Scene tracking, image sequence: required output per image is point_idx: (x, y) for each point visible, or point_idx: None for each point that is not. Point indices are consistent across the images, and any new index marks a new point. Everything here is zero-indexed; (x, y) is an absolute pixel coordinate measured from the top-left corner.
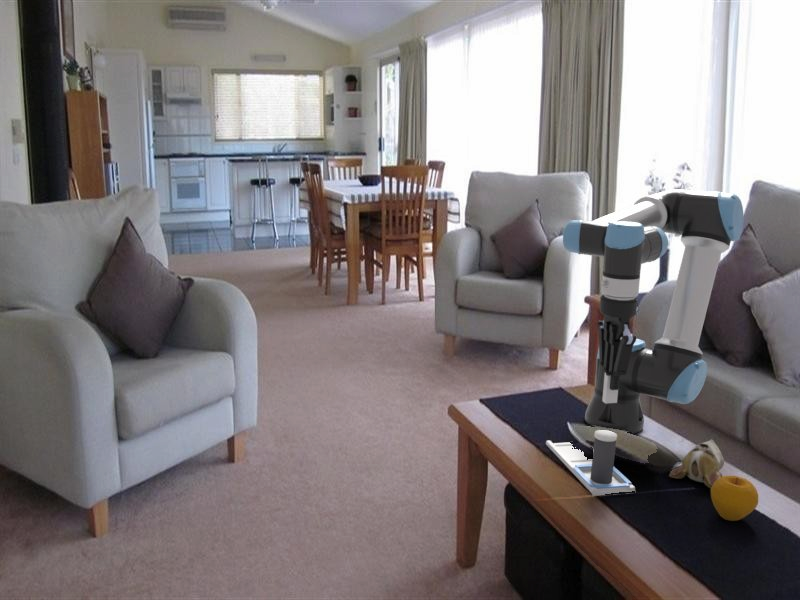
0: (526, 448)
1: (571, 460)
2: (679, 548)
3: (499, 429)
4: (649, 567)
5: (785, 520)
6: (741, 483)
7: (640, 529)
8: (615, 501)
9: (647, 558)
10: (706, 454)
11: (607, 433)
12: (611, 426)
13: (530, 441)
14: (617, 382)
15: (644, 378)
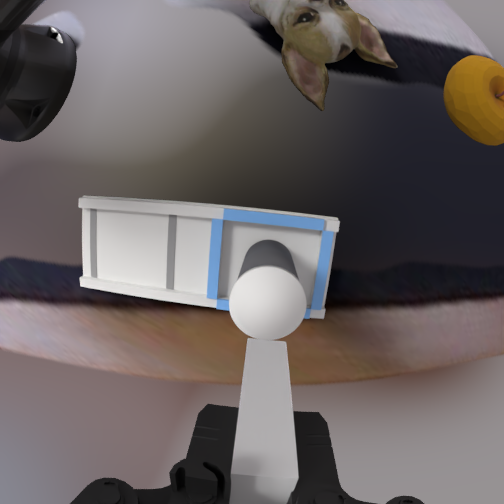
0: (96, 326)
1: (164, 276)
2: (495, 266)
3: (28, 326)
4: (499, 333)
5: (468, 36)
6: (500, 83)
7: (443, 293)
8: (355, 281)
9: (489, 326)
10: (343, 11)
11: (265, 298)
12: (51, 105)
13: (68, 301)
14: (330, 459)
15: (4, 6)
